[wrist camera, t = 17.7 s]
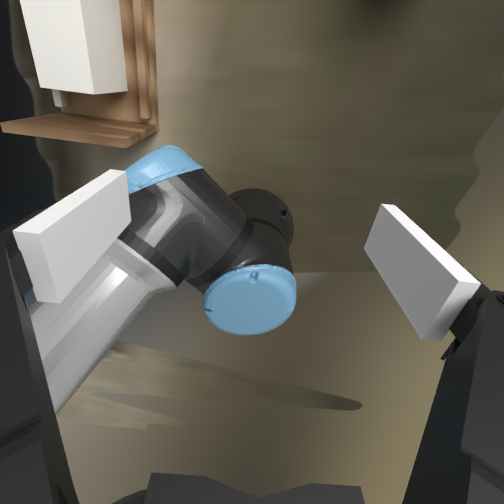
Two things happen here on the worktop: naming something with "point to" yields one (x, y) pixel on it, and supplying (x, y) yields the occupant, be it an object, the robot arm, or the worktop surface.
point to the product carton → (77, 44)
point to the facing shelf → (109, 94)
